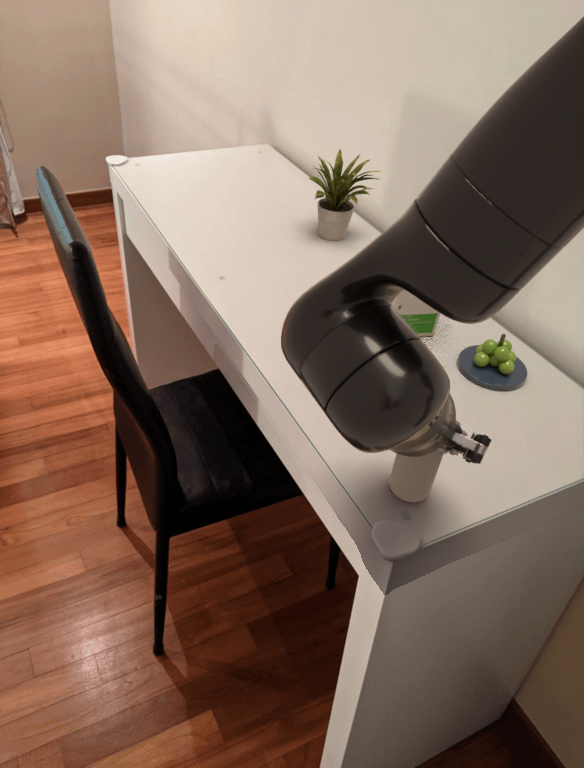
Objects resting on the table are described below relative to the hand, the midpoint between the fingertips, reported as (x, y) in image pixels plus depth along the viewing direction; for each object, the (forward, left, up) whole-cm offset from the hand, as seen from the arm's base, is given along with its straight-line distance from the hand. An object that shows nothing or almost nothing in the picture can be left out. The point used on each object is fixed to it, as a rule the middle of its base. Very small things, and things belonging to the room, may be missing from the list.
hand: (430, 432), depth 67 cm
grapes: (+14, -23, -8) cm, 28 cm away
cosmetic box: (+28, -17, -8) cm, 34 cm away
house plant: (+59, -21, -8) cm, 63 cm away
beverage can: (-1, +2, -8) cm, 8 cm away
